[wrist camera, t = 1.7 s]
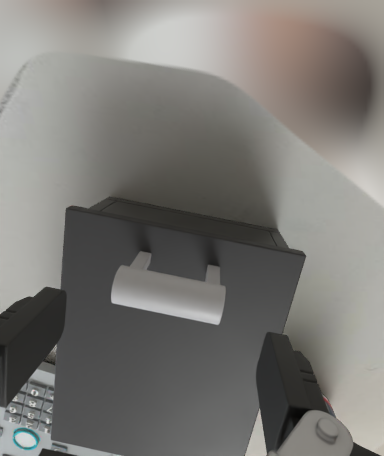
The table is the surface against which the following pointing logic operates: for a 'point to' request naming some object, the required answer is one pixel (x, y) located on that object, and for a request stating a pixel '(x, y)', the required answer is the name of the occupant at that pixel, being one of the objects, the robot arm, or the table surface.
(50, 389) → the office telephone
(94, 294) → the lid
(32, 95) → the table surface
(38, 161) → the table surface
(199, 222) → the black storage bin
